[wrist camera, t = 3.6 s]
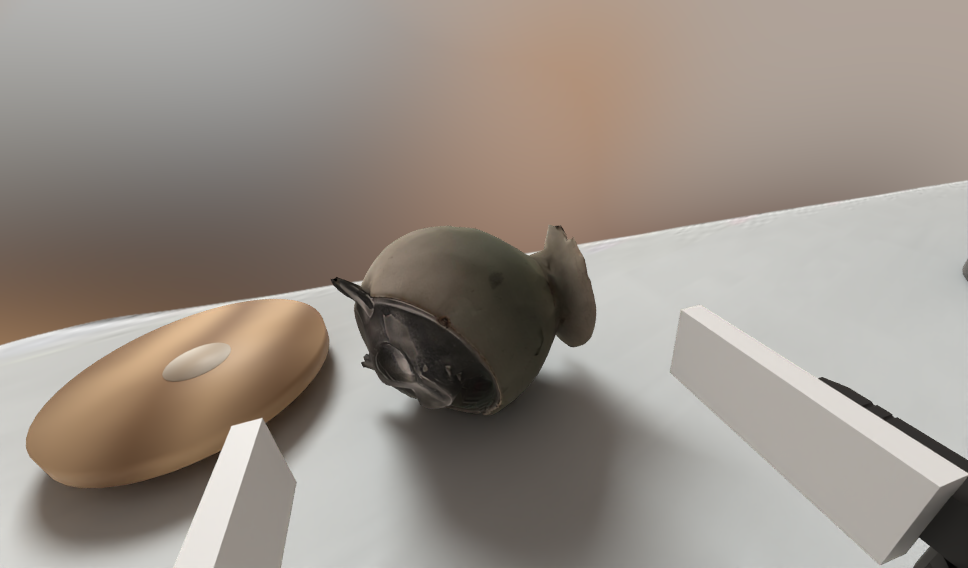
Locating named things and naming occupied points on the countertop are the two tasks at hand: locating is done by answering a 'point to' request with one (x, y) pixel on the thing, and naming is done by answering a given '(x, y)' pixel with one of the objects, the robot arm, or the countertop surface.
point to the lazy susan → (178, 393)
